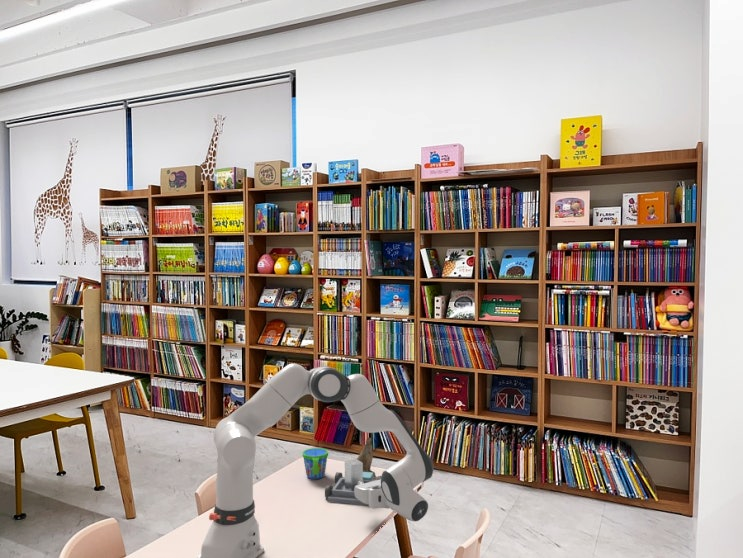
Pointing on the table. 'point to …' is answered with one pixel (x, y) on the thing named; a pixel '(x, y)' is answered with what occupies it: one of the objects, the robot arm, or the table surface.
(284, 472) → the table surface
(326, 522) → the table surface
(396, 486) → the robot arm
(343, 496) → the toy truck
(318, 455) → the snack cup
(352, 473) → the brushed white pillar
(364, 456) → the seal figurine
